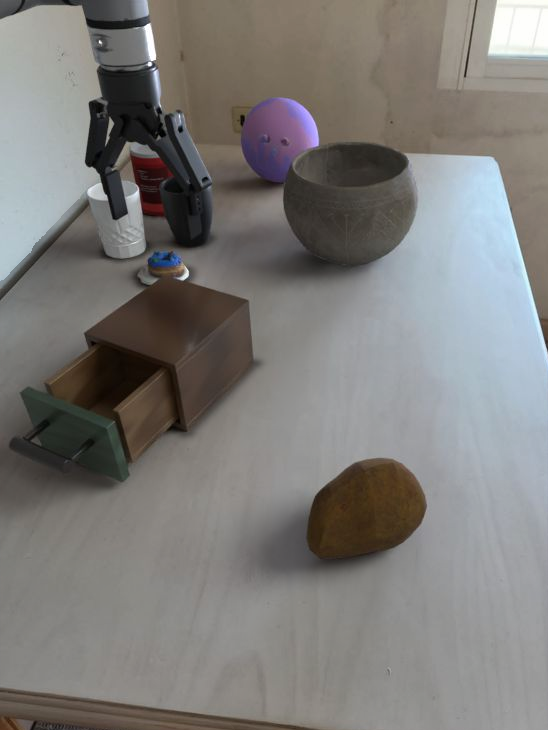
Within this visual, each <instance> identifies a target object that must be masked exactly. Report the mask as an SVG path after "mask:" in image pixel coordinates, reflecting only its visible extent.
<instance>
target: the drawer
mask: <svg viewBox="0 0 548 730" xmlns="http://www.w3.org/2000/svg"><path fill="white" fill-rule="evenodd" d="M43 384H44V385H43V386H44V387H45V390H46V392H47V393H46V392H43V391H41V390H39V389H36V388H34V387H31V386H26V387H25V388H24V389H22V390H21V391H20V392H19V395H20V397H21V400H22V402H23V404H24V407H25V410H26V412H27V414H28V417H29V419H30V421H31V424H32V426H33V428H32V429H30V430H29V431H28V432H27V433H25V434H24V435H23V436H20V435H16V436H14V437H12V438H11V439H10V440H9V442H8V449H9V450H10V451H11V452H13V453H15V454H18V455H20V456H22V457H24V458H26V459H28V460H31V461H32V462H35V463H37V464H39V465H41V466H44V467H46V468H48V469H50V470H53V471H54V472H57V473H58V474H61V475H64V476H68V475H69V474H71V473H72V471H73V470H74V468H75V463H78V464H79V465H82V466H85V467H86V468H89V469H90V470H93V471H96V472H98V473H100V474H102V475H104V476H107V477H109V478H111V479H114V480H115V481H118V482H120V483H124V482H125V481H127V480H128V478H129V477H130V476H131V473H130V471H129V467H128V462H129V463H131V464H133V463H135V462H136V460H138V459H139V458H140V457H141V456H142V455H143V454H144V453H145V452H146V451H147V450H148V449H149V448H150V447H151V446H152V445H153V444H154V443H155V442H156V441H157V440H158V439H159V438H161V436H162V435H163V434H164V433H165V432H166V431H167V430H168V429H170V427H172V424H173V423H174V422H175V421H176V420H177V419H178V418H179V412H178V406H177V401H176V396H175V391H174V385H173V380H172V375H171V370H170V369H169V368H166V367H164V366H161V365H158V364H155V363H152V362H150V361H147V360H144V359H141V358H138V357H136V356H133V355H130V354H127V353H124V352H122V351H119V350H116V349H113V348H110V347H107V346H105V345H102V344H99V343H96V344H95V345H93V346H92V347H91V348H89V349H88V348H87V350H84V352H82V353H81V354H80V355H78V356H77V357H76V358H75V359H73V360H72V361H70V362H69V363H68V364H67V365H65V366H64V367H62V368H61V369H60V370H58V371H57V372H56V373H55V374H53V375H52V376H50V377H49V378H48V379H46V380H44V382H43ZM36 437H37V439H38V441H39V443H40V444H38V443H35V442H33V441H32V440H34V439H35V438H36Z"/></svg>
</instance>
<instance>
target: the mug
mask: <svg viewBox="0 0 548 730" xmlns="http://www.w3.org/2000/svg"><path fill="white" fill-rule="evenodd" d="M188 181H189V180H188ZM189 183H190V181H189ZM159 189H160V195H161V201H162V206H163V210H164V213H165V215H164V216H165V219H166V221H167V224H168V227H169V229H170V231H171V233H172V235H173V237H174V239H175V242H176V243H177V244H178V245H179V246H182V247H188V248H190V247H191V248H195V247H200V246H202V245H205V244H206V243H208V241H209V240H210V234H211V229H212V228H211V227H212V221H213V214H214V213H213V212H214V201H213V200H214V199H213V191H212V190H213V189H212V185H211V186H210V187H208V188H206V189H205V190H203V191H201V200H202V207H203V211H202V213H201V214H200V220H201V228H202V233H200V234H199V235H197V236H196V237H194V238H193V239H191V240H190V239H187V237H186V231H185V224H184V218H183V211H182V205H181V198H180V193H182V192H184V190H183V189H182V187H181V186H180V184H179V183H178V182H177V180H176V179H175V178H174V176H173V177H170V178H167V179H165V180H163V181H162V182H161V183H160V185H159Z"/></svg>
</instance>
